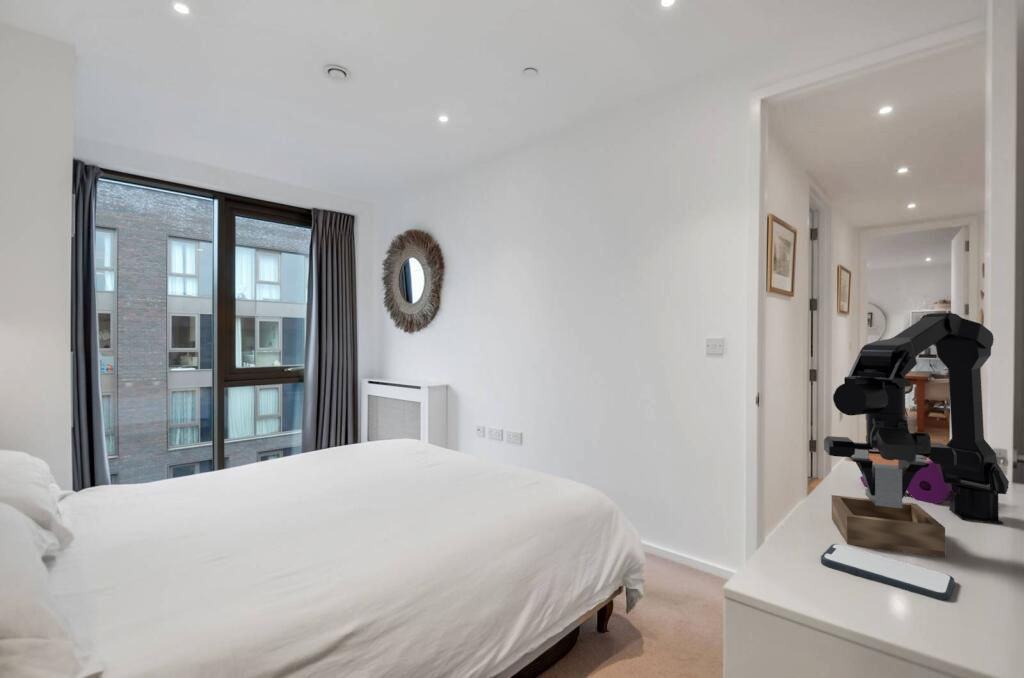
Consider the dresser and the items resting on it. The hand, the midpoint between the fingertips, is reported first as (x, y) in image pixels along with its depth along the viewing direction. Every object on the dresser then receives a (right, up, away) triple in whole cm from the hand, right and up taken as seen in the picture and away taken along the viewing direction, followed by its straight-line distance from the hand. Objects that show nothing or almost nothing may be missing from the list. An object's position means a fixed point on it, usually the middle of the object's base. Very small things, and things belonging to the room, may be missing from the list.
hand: (886, 496), depth 90 cm
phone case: (-10, -9, -12) cm, 18 cm away
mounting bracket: (+26, -8, +27) cm, 39 cm away
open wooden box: (+1, -8, +2) cm, 8 cm away
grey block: (+1, -1, +2) cm, 2 cm away
